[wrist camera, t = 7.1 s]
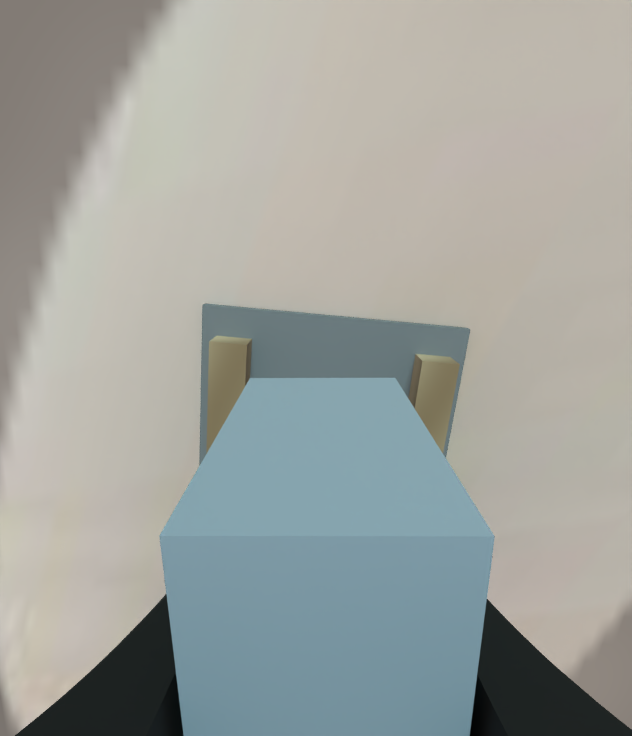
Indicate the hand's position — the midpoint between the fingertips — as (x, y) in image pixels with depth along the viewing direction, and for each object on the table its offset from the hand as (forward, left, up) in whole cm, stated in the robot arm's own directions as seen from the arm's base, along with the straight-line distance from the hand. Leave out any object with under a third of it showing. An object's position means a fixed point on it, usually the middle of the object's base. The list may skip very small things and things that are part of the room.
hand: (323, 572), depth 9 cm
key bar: (0, 0, -2) cm, 2 cm away
